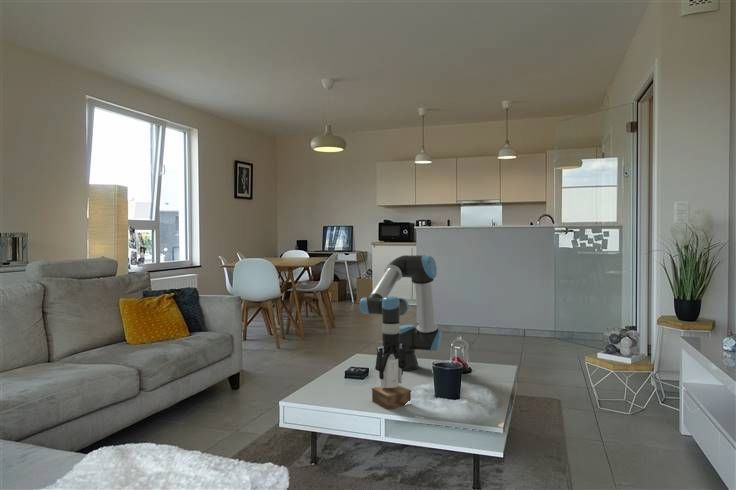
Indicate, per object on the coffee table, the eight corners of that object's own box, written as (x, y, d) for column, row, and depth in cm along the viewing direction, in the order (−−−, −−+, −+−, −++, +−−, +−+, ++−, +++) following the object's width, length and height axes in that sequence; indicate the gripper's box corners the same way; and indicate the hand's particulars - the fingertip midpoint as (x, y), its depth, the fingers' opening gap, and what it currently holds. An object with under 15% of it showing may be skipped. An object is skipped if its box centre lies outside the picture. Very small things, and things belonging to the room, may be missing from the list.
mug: (403, 389, 205) (403, 361, 205) (384, 391, 203) (384, 362, 203) (395, 381, 217) (395, 355, 217) (377, 383, 215) (377, 356, 215)
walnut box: (394, 396, 219) (394, 383, 219) (411, 404, 209) (411, 390, 209) (371, 401, 212) (371, 388, 212) (388, 410, 202) (388, 395, 202)
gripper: (404, 328, 219) (404, 378, 219) (366, 333, 207) (366, 386, 208) (415, 331, 213) (415, 382, 213) (376, 336, 201) (376, 391, 201)
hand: (391, 384), depth 210 cm, fingers closed on mug, 8 cm apart
